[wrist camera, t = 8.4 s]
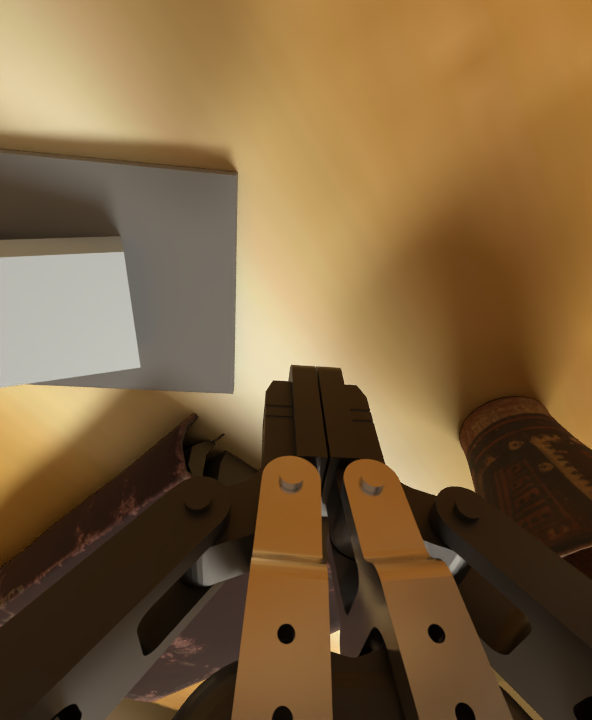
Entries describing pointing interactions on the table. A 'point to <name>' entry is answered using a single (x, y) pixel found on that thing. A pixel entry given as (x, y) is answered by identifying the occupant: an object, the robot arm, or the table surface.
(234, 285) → the mat
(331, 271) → the table surface
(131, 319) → the domino
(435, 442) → the table surface
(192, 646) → the diary
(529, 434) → the cup
